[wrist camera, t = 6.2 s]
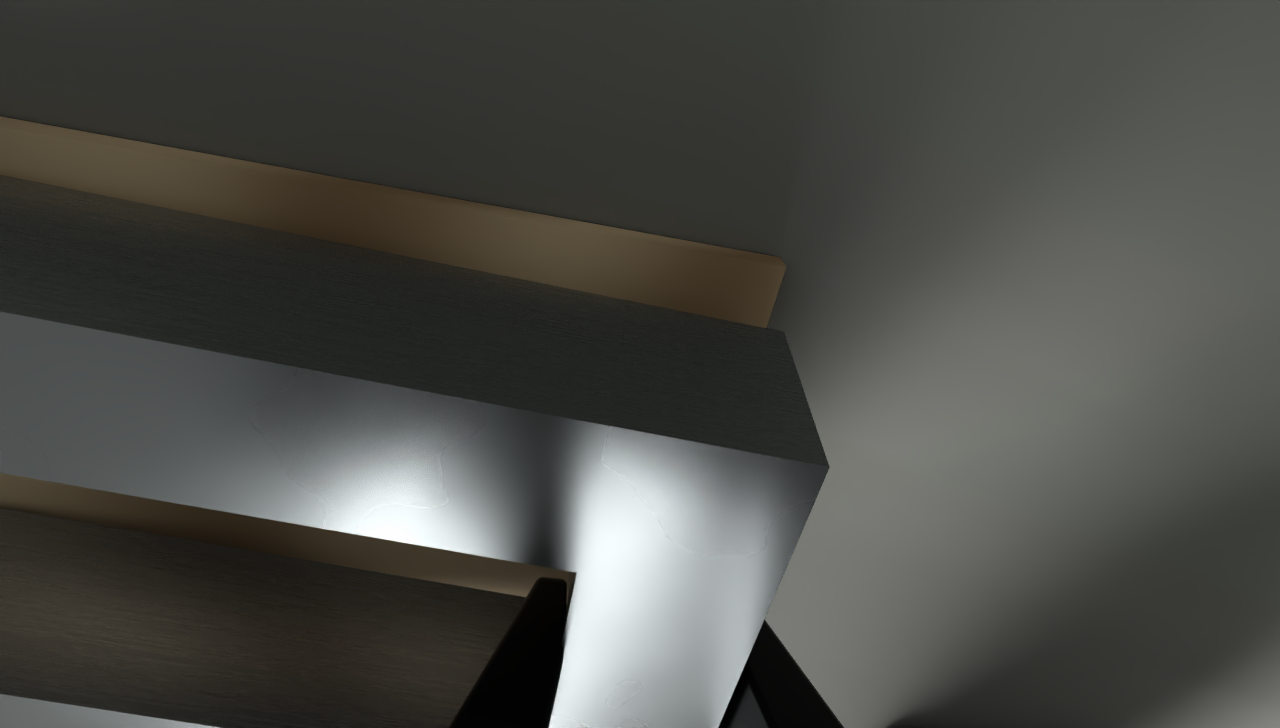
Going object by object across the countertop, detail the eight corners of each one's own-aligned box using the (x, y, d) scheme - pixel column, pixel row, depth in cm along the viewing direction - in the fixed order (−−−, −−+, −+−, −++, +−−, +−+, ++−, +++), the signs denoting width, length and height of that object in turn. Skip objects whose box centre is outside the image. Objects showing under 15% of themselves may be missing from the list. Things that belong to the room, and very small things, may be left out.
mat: (780, 257, 10) (786, 267, 10) (656, 641, 15) (658, 657, 14) (-375, 48, 8) (-420, 50, 8) (-122, 565, 13) (-143, 582, 12)
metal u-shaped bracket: (783, 331, 9) (828, 467, 7) (660, 692, 13) (658, 868, 10) (-319, 110, 8) (-776, 165, 6) (-102, 568, 12) (-314, 727, 10)
